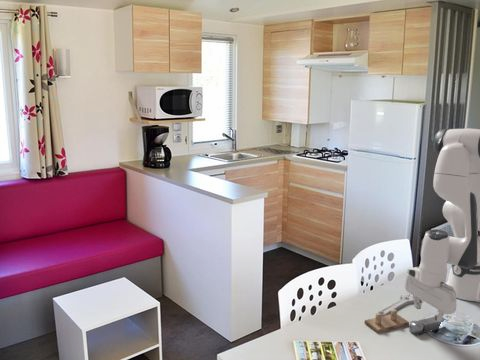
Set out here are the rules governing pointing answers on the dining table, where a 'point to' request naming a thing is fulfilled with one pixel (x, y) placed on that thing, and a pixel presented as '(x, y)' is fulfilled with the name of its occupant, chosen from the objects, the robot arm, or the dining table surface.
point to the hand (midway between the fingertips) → (427, 314)
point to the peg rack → (386, 322)
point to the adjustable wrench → (398, 304)
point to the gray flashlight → (424, 325)
